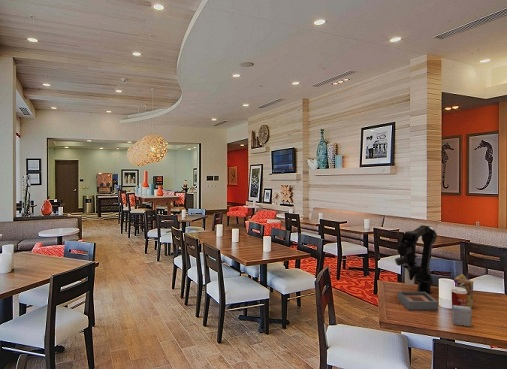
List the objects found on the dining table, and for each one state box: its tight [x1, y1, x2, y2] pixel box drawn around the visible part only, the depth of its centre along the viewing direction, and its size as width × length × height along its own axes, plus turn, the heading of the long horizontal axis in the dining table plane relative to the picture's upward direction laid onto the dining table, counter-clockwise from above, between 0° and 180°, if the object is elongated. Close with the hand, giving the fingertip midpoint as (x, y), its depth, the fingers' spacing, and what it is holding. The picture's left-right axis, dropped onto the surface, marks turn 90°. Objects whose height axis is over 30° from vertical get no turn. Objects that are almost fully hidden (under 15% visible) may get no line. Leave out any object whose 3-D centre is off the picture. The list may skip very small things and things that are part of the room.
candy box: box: [453, 277, 474, 309], centre depth 199 cm, size 9×4×15 cm, turn 39°
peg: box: [404, 268, 415, 286], centre depth 208 cm, size 4×4×9 cm
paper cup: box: [450, 286, 467, 306], centre depth 187 cm, size 8×8×14 cm
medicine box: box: [451, 304, 473, 327], centre depth 176 cm, size 8×4×9 cm, turn 71°
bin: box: [397, 290, 439, 312], centre depth 200 cm, size 16×16×5 cm
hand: (409, 278), depth 208 cm, fingers closed on peg, 4 cm apart
